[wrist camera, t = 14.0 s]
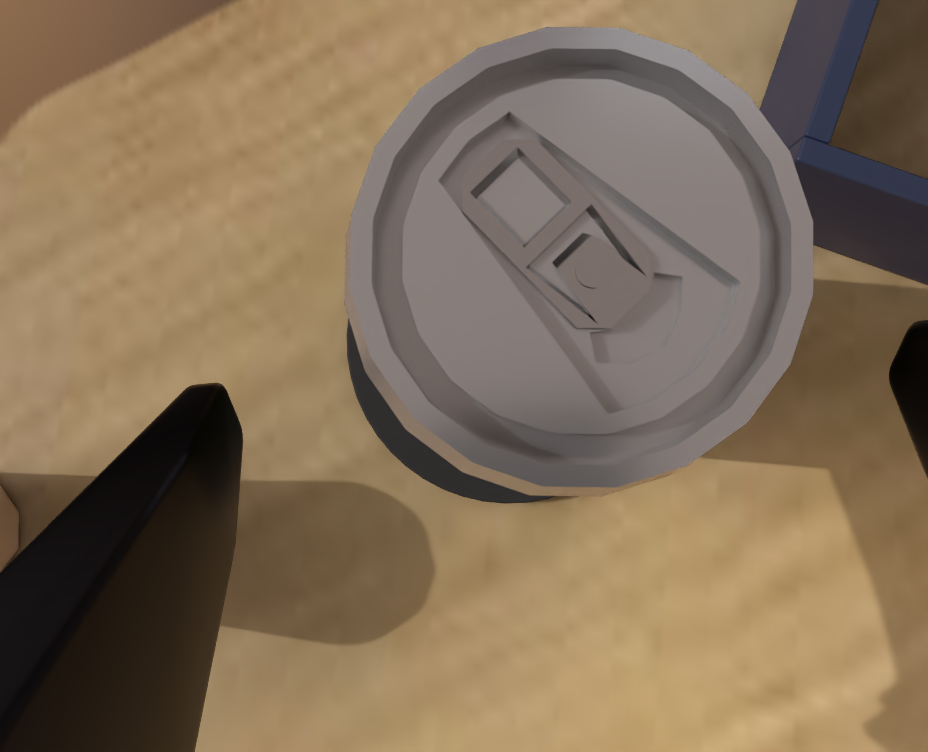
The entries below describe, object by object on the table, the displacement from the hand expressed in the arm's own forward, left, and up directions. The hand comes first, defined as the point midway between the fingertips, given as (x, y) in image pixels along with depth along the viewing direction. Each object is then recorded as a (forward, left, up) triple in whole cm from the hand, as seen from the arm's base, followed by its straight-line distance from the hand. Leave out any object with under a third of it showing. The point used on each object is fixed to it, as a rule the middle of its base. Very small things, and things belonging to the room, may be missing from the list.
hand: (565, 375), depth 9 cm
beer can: (+1, -1, -10) cm, 10 cm away
